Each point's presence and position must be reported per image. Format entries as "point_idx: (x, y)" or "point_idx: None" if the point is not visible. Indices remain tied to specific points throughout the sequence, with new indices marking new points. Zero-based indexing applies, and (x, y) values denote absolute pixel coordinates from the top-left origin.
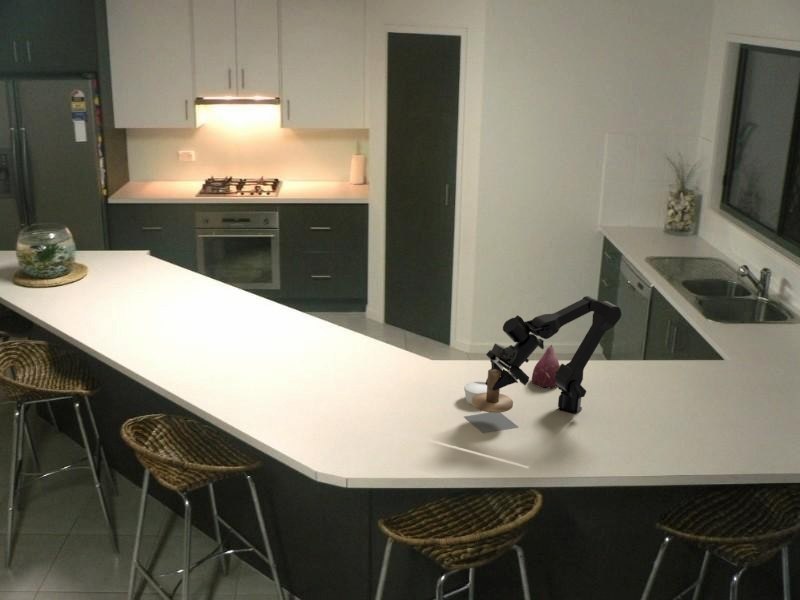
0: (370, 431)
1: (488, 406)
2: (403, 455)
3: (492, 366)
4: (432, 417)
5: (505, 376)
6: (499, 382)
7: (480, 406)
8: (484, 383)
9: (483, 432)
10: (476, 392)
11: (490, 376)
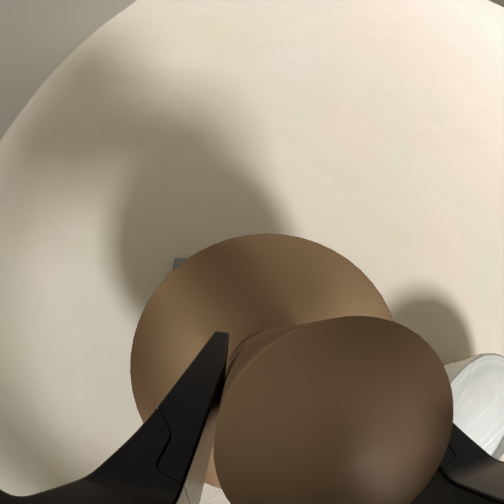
0: (343, 26)
1: (200, 291)
2: (194, 21)
3: (496, 471)
4: (391, 178)
5: (79, 484)
6: (162, 402)
7: (225, 243)
8: (497, 454)
9: (180, 264)
10: (458, 387)
11: (293, 326)
